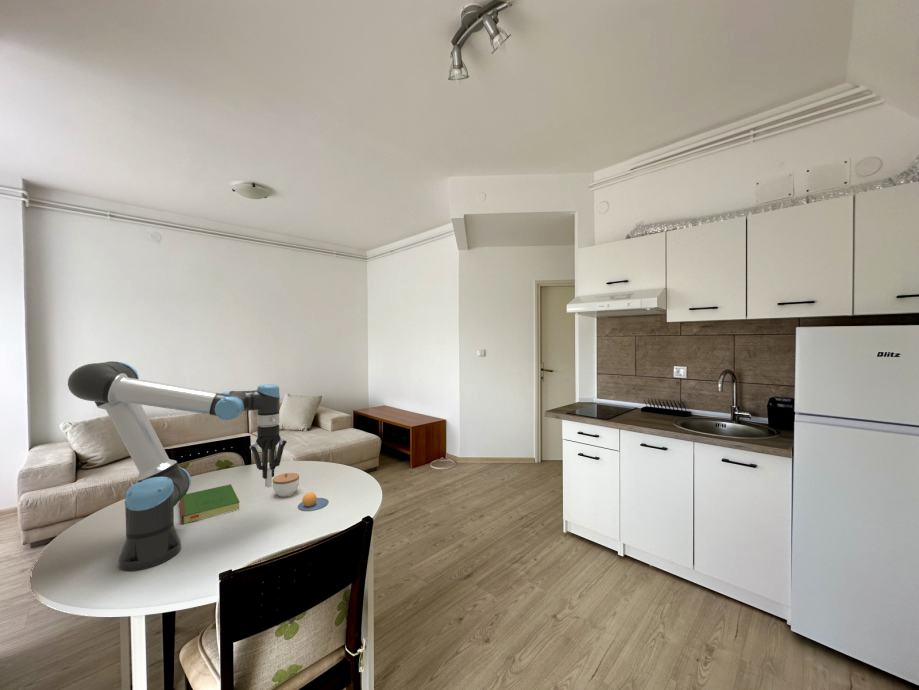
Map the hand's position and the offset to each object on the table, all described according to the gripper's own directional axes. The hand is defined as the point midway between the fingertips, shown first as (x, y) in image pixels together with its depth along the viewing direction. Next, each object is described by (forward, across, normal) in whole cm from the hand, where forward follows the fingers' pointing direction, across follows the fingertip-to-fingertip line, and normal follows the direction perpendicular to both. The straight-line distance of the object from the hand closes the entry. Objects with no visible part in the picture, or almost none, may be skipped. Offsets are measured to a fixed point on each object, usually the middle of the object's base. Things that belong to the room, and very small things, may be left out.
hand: (268, 486), depth 140 cm
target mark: (+13, +18, 0) cm, 22 cm away
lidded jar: (+13, +14, +19) cm, 27 cm away
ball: (+10, +16, 0) cm, 19 cm away
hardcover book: (+14, -13, +30) cm, 35 cm away
